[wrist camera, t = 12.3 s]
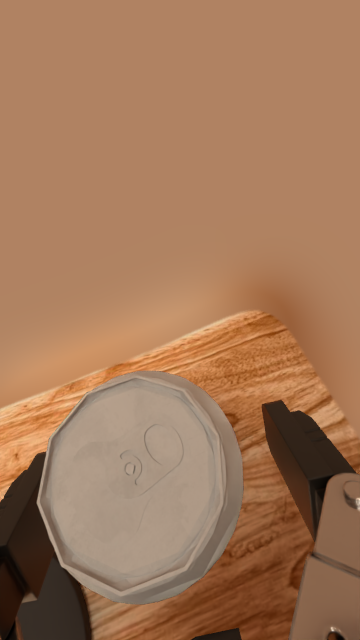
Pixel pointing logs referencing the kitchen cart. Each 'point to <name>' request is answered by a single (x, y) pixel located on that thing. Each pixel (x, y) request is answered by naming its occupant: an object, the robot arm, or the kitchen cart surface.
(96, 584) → the beer can
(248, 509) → the kitchen cart surface
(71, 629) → the coaster
